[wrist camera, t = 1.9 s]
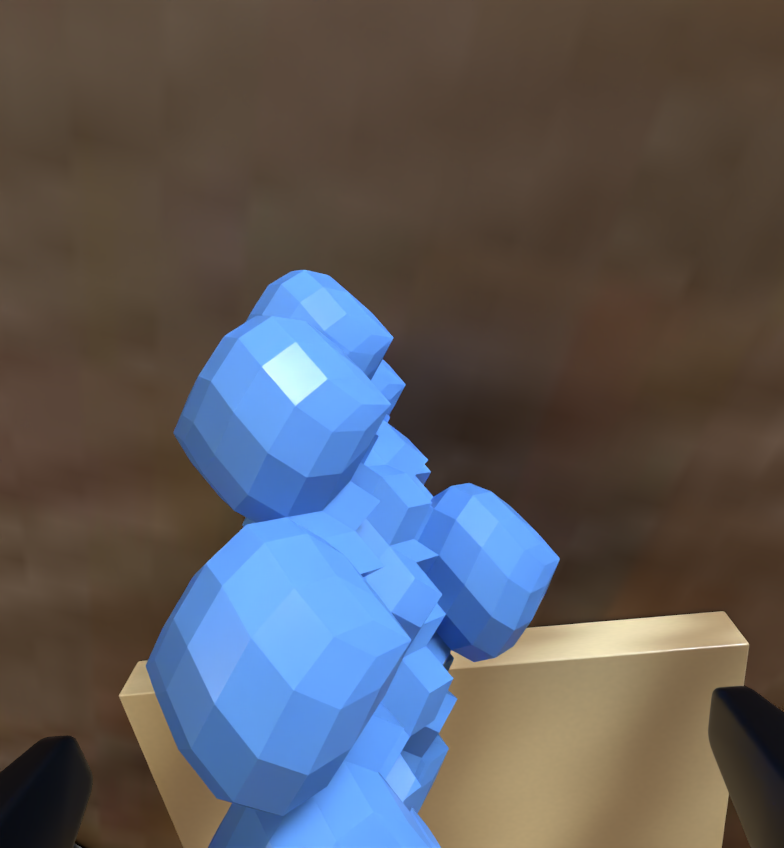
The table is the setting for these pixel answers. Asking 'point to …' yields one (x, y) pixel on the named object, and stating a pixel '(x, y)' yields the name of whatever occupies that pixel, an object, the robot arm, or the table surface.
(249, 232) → the table surface
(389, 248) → the table surface
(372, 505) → the grapes
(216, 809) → the board
